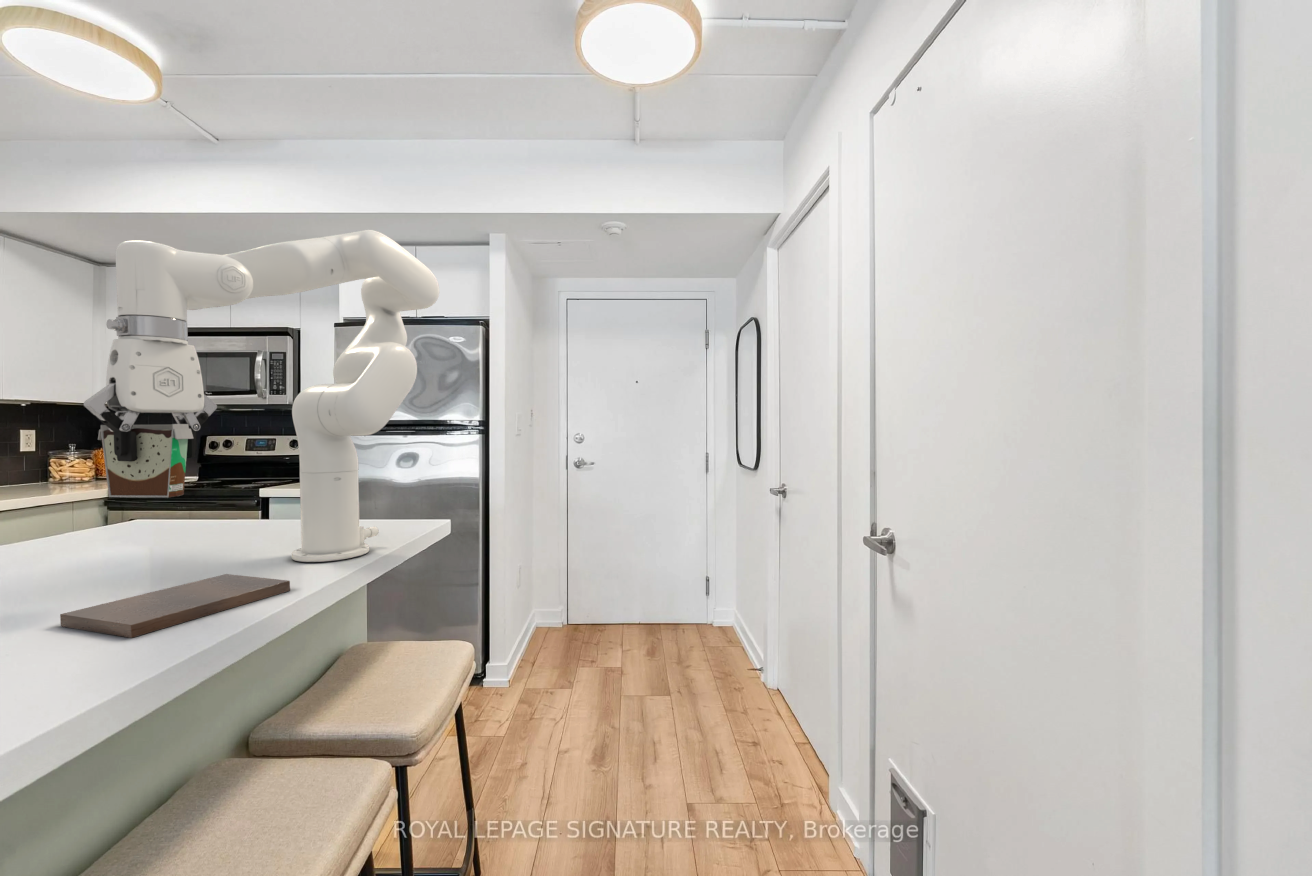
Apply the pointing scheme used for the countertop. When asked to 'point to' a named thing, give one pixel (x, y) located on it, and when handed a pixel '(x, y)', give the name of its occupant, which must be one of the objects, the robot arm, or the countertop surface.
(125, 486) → the food container
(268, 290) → the robot arm
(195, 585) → the cutting board
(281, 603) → the countertop surface
